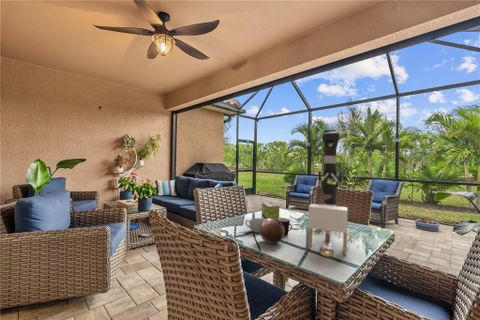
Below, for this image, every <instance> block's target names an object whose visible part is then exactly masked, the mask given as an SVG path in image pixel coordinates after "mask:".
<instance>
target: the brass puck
mask: <svg viewBox="0 0 480 320" xmlns="http://www.w3.org/2000/svg"><path fill="white" fill-rule="evenodd" d="M319 253H320V255H321V256H323V257H326V258H331V257H333V253H332V252H331V251H328V250H321V251H320V250H319Z"/></svg>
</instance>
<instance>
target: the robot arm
mask: <svg viewBox="0 0 480 320" xmlns="http://www.w3.org/2000/svg"><path fill="white" fill-rule="evenodd" d="M321 137H322V138H321V140H322V142H323V148H324V149H323V161H322V162H323V163H322V164H323V165H322V166H323V168H322V169H323V171H321V170H319V171H318V178H317V180H318V181H320V186H321V192H322V194H323V195H330V196H331V197H330V196H329V197H328V198H324V199H323V205H329V206H337V203H338V201H337V199H338V187H339V183H340V182H342V181H343V180H342V179H343V178H342V172H341V171H338V172H337V149H338V143H339V141H340V137H341V136H340V130H339V129H337V128H328V129H327V128H326V129H324V131H323V134H322V136H321ZM330 144H331V146H330ZM322 175H323V176H322ZM337 175H338V177H336V176H337ZM321 176H322V178H321ZM338 178H339V179H338ZM329 179H334V181H335V182H328V180H329Z"/></svg>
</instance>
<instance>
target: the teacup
mask: <svg viewBox="0 0 480 320" xmlns="http://www.w3.org/2000/svg"><path fill="white" fill-rule="evenodd" d="M263 221H264V219H262V218H259V217H255V218H254V217H253V218H250V220H249V219H246V220H245V222H244V225H245V226H247V227H248V228H249V229H250V230H251V232H253V233H257V234H260V225H261V223H262V222H263ZM247 222H248V223H247Z"/></svg>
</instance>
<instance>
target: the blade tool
mask: <svg viewBox="0 0 480 320" xmlns="http://www.w3.org/2000/svg"><path fill="white" fill-rule="evenodd" d="M321 250H328V251H331V252H332V254H334V248H332V242H331V231H329V230H325V239H324V241H323V243H322V246H319V252H320V251H321Z"/></svg>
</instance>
